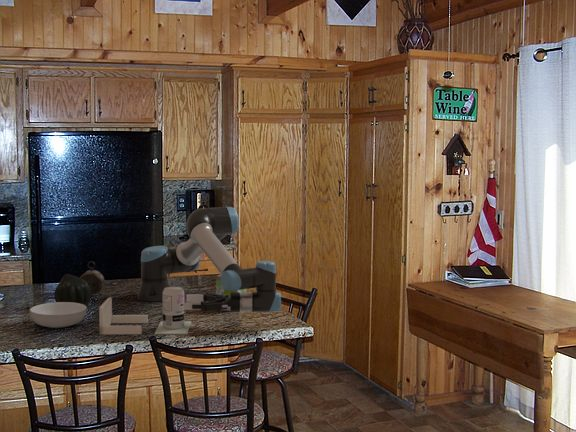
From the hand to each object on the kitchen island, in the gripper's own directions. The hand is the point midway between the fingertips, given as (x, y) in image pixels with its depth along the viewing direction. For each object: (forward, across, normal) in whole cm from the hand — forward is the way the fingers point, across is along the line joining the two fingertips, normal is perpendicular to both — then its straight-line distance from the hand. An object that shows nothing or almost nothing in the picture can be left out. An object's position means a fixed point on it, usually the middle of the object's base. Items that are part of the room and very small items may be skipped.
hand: (184, 302), depth 270 cm
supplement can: (+4, +1, -10) cm, 11 cm away
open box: (+23, +1, -10) cm, 25 cm away
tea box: (-17, +36, -11) cm, 41 cm away
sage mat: (+4, +1, -10) cm, 11 cm away
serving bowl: (+49, +5, -11) cm, 50 cm away
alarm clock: (+48, +56, -10) cm, 75 cm away
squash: (+51, +36, -10) cm, 63 cm away
